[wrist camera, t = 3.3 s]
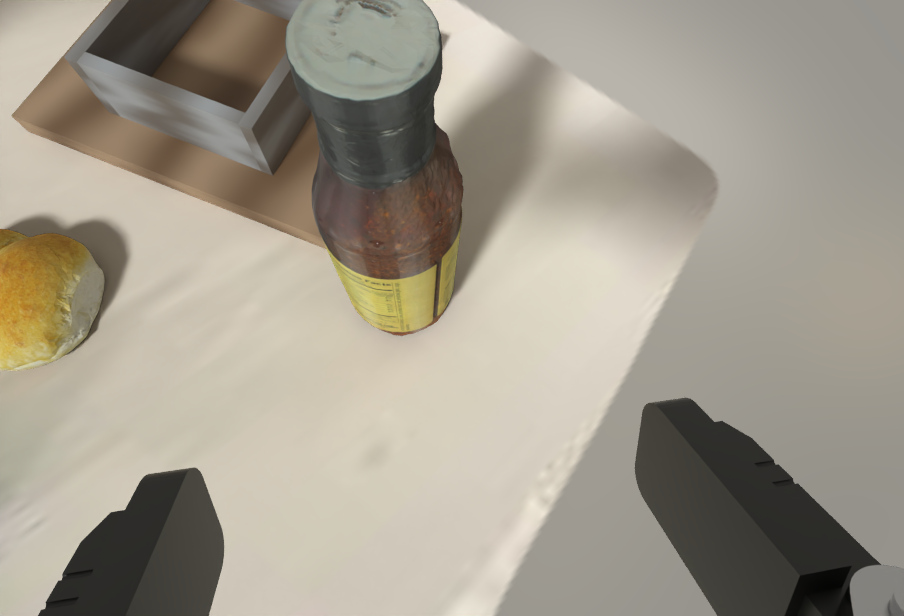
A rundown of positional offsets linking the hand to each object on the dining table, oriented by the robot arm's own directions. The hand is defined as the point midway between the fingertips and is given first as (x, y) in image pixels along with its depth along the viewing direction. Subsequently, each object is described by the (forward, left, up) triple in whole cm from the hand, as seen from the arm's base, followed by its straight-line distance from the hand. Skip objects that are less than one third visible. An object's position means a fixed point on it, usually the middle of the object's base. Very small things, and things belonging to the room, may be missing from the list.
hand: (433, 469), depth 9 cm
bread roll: (-25, +1, -21) cm, 33 cm away
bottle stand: (-21, +20, -20) cm, 35 cm away
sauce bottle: (-5, +10, -20) cm, 23 cm away
